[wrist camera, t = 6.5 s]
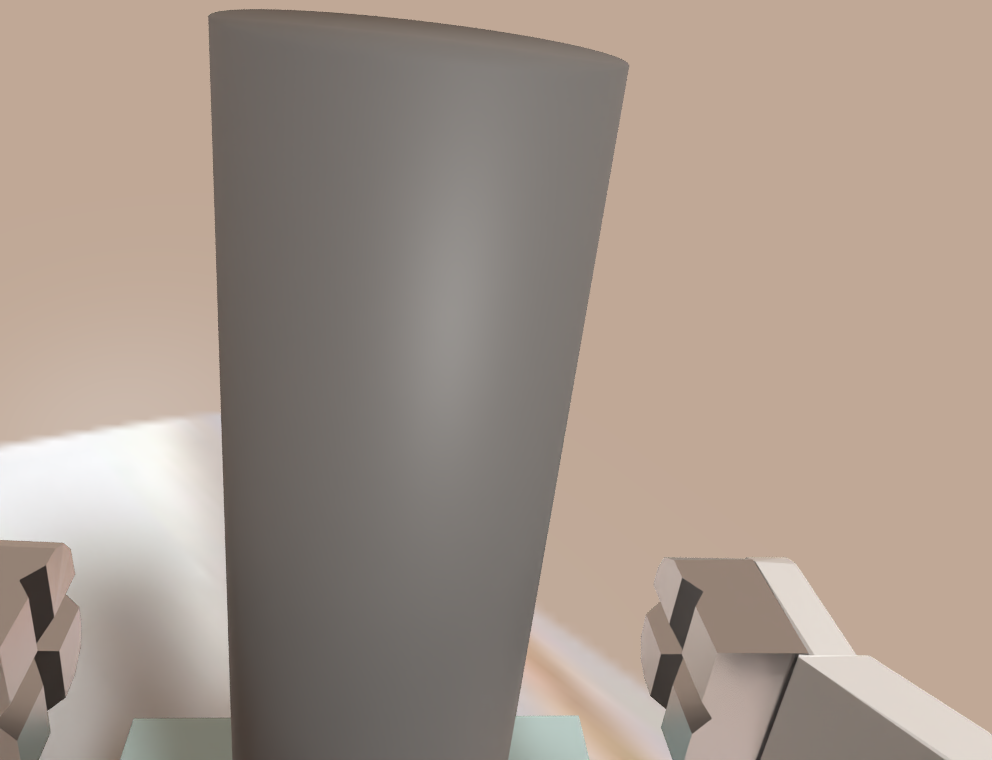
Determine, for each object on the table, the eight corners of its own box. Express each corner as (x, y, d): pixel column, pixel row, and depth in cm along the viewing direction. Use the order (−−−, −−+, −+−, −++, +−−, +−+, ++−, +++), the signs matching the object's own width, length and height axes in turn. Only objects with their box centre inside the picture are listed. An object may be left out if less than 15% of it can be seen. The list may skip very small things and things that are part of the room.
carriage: (-111, 1660, 8) (-1555, 34, 2) (142, 796, 16) (56, -42, 10) (714, 1532, 9) (1672, 304, 3) (562, 787, 17) (727, 37, 11)
